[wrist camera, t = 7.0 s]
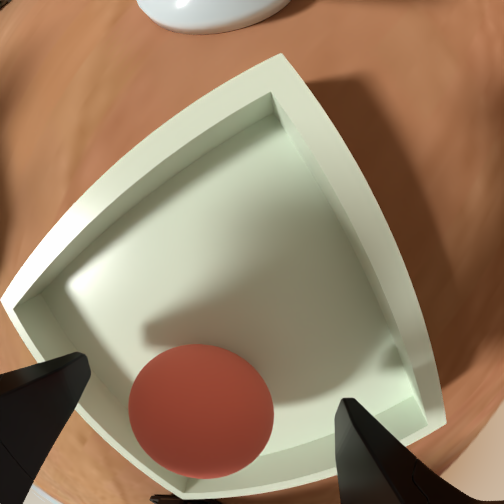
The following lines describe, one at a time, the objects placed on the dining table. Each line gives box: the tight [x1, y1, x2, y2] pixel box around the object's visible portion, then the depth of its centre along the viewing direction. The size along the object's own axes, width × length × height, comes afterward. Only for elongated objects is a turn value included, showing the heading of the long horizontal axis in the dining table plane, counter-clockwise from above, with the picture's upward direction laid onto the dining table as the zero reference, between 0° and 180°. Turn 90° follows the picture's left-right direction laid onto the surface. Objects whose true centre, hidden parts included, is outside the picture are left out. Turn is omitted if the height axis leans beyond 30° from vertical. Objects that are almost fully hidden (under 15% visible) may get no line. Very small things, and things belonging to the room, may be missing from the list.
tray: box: [0, 53, 446, 499], centre depth 9 cm, size 14×14×3 cm
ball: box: [128, 344, 274, 479], centre depth 8 cm, size 5×5×5 cm
